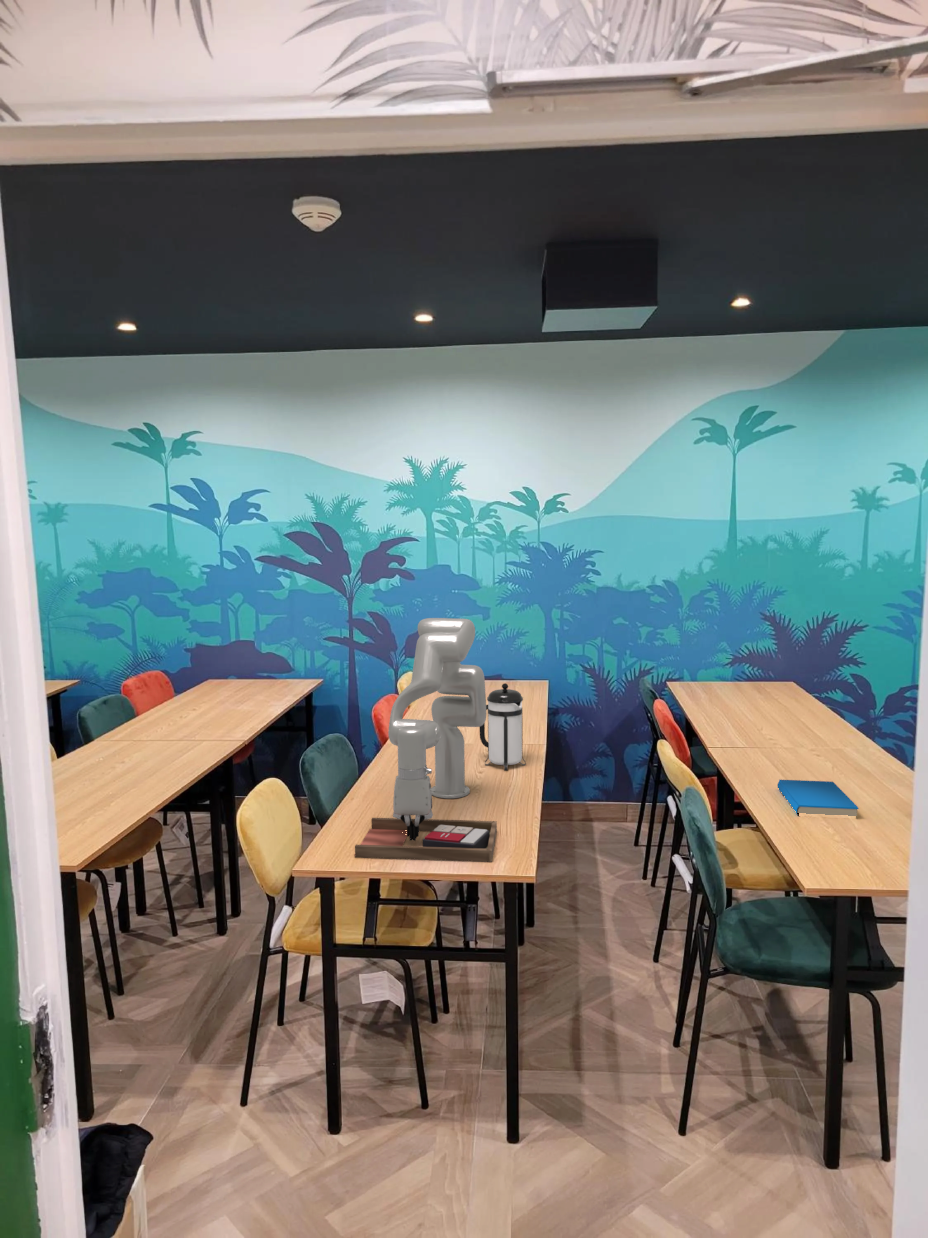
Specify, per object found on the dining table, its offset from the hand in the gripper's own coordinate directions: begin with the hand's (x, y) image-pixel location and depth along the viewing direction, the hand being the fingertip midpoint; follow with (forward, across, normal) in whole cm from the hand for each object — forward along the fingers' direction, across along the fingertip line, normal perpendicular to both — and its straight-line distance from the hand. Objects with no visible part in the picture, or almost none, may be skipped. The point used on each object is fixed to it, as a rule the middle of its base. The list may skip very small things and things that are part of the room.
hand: (413, 838), depth 213 cm
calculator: (+2, -12, +2) cm, 12 cm away
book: (+2, -118, -39) cm, 125 cm away
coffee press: (+2, -21, -76) cm, 79 cm away
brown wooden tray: (+1, -4, 0) cm, 4 cm away
